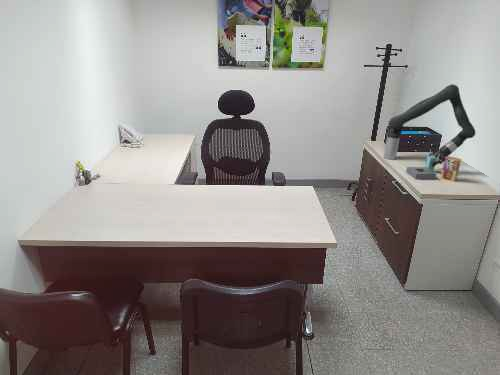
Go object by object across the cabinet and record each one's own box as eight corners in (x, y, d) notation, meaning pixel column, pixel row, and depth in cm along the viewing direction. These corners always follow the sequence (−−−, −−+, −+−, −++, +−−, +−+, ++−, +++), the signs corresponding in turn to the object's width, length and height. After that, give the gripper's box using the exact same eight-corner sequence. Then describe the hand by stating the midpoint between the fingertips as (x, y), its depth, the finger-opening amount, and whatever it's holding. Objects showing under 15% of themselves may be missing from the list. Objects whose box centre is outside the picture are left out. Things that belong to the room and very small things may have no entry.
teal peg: (424, 170, 265) (427, 156, 260) (429, 170, 265) (433, 156, 261) (427, 172, 261) (430, 157, 256) (433, 172, 261) (436, 158, 257)
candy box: (456, 180, 248) (462, 159, 242) (453, 181, 245) (459, 160, 239) (443, 176, 254) (448, 155, 248) (440, 177, 251) (445, 156, 245)
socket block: (405, 172, 260) (407, 166, 258) (424, 172, 261) (425, 167, 259) (415, 179, 247) (416, 173, 245) (435, 179, 248) (436, 173, 246)
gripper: (440, 142, 262) (421, 157, 266) (451, 148, 249) (431, 163, 253) (445, 149, 265) (426, 164, 268) (456, 155, 252) (437, 170, 255)
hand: (429, 163), depth 261 cm, fingers open, 8 cm apart
